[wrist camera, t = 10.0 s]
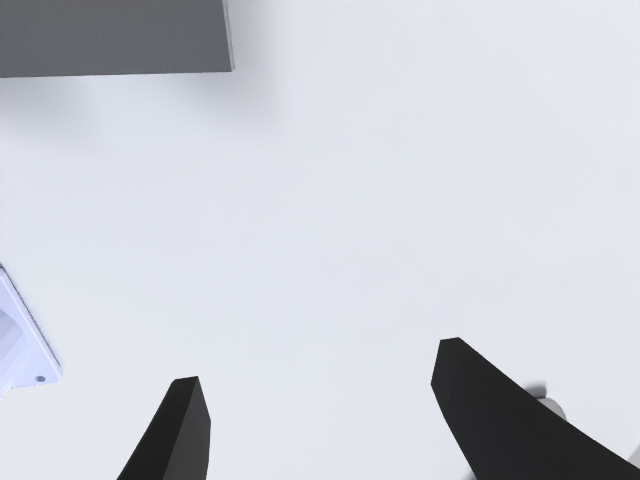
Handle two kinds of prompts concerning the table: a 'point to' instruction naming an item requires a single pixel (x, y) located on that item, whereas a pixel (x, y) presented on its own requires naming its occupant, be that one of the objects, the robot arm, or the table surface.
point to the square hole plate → (113, 37)
